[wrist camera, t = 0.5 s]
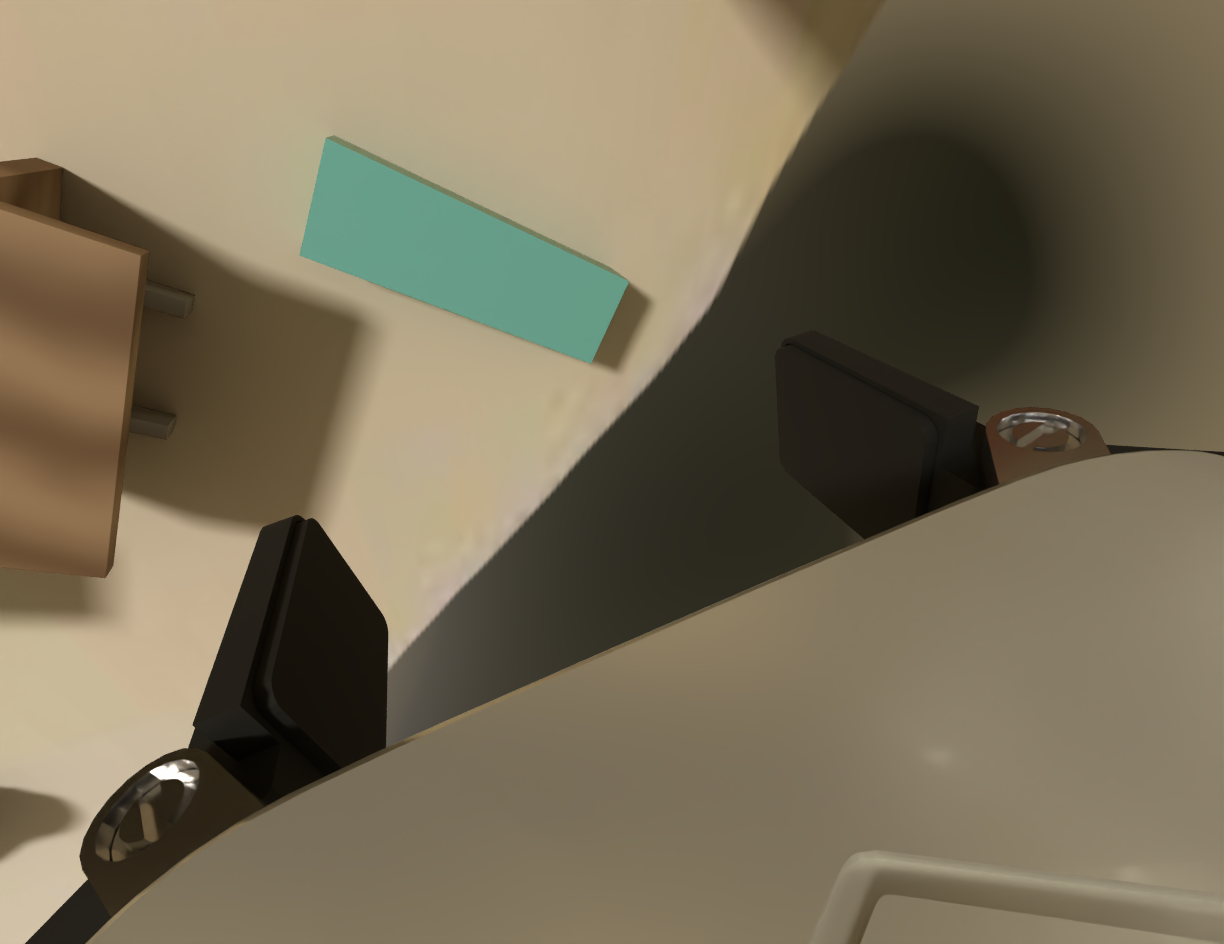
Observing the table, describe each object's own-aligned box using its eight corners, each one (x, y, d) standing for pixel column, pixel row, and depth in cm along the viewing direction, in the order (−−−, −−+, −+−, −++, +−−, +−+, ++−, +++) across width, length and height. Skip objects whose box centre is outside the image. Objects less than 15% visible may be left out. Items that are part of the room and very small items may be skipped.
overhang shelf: (35, 157, 27) (-107, 174, 19) (205, 220, 30) (140, 255, 23) (25, 459, 34) (-83, 558, 26) (165, 483, 37) (105, 577, 30)
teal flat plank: (334, 135, 30) (325, 137, 27) (610, 267, 39) (629, 281, 36) (309, 241, 32) (299, 255, 29) (576, 344, 41) (590, 363, 38)
